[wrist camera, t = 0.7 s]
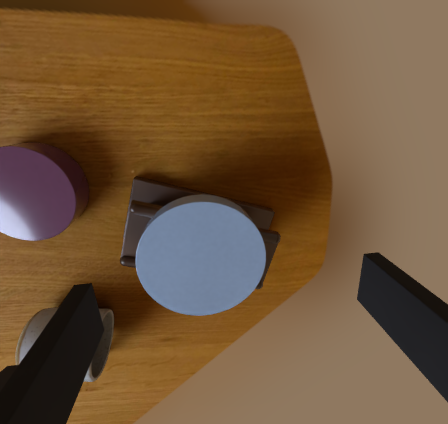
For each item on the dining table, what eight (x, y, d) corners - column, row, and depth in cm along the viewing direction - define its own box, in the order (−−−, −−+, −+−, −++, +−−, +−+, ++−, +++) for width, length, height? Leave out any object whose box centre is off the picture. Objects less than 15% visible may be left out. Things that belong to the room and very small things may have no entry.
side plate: (152, 180, 21) (148, 186, 20) (277, 210, 24) (284, 218, 22) (130, 291, 25) (125, 305, 23) (241, 308, 27) (244, 323, 25)
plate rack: (135, 176, 29) (117, 196, 22) (272, 208, 32) (294, 235, 25) (125, 233, 31) (105, 268, 24) (254, 258, 34) (270, 296, 27)
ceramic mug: (43, 293, 32) (0, 346, 25) (113, 295, 33) (91, 346, 26) (53, 357, 36) (19, 419, 29) (116, 357, 37) (98, 416, 30)
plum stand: (-6, 130, 26) (-35, 133, 22) (94, 155, 27) (80, 161, 24) (-6, 216, 28) (-32, 230, 25) (84, 234, 30) (71, 248, 27)
